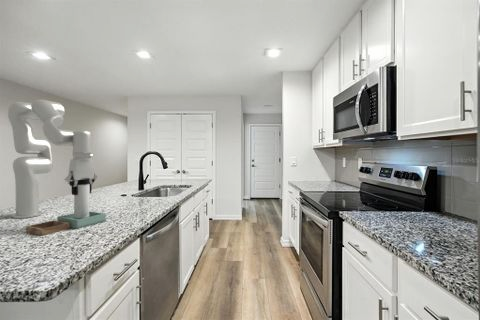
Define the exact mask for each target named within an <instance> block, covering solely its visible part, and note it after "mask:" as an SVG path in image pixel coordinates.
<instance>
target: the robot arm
mask: <svg viewBox="0 0 480 320" xmlns="http://www.w3.org/2000/svg"><path fill="white" fill-rule="evenodd" d="M65 111H66V109H65V107H64V105H63V104H61V103H60V102H58V101H53V100H52V101H51V100H47V99H35V100H34V101H31V102H25V101H14V102H12V103H11V104H10V105H9V106H8V110H7V117H8V121H9V122H10V123H9V124H10V125H11V128H12V129H11V130H12V136H13V144H14V149H15V152H16V153H17V154H20V155H33V156H20V157H17V158H15V159H14V160H13V162H12V169H13V173H14V180H15V183H14V184H15V208H14V211H15V213H13V214H12V215H11V218H13V219H26V218H27V219H28V218H34V217H38V216H41V215H43V212H42V211H40V207H39V205H40V203H39V201H40V200H39V199H40V198H39V197H40V196H39V194H40V193H39V190H40V189H39V187H40V186H39V181H38V178H37V177H36V175H40V174H47V173H48V174H49V173H50V172H52V170H53V167H54V161H53V154H52V146H51V144H53V145H56V146H67V147H72V159H70V161H69V165H68V175H67V176H66V177H65V178H64V181H65V182H66V183H68V185H69V187H71V194H72V196H74V195H78V187H77V183H78V181H79V180H84V179H88V178H90V182H89V184H90V185H89V186H90V194H92V190H93V189H92V186H93V184H94V183H95V181H96V180H97V179H98V176H97V175H96V173H95V172H94V171H95V170H94V163H93V159H92V158H93V157H94V155H93V154H92V133H91V132H90V131H89V130H70V129H69V130H68V129H59V127H61V126H62V125H63V123H64V116H65V114H66V112H65ZM27 120H31V121H32V120H33V121H41V122H42V123H43V126H42V131H43V132H42V133H43V135H44V136H45V137H40V136H35V135H34V134H35V133H34V128H33V126H32V125H31V124H30V122H29V121H27ZM49 141H50V142H49ZM34 155H37V156H34Z"/></svg>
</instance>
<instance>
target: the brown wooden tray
mask: <svg viewBox="0 0 480 320" xmlns="http://www.w3.org/2000/svg"><path fill="white" fill-rule="evenodd" d="M66 229H67V230H70V223H66V222H60V221H57V220H56V219H55V220H54V219H53V220H49V221H44V222H40V223H36V224H31V225H26V226H25V230H26V231H25V233H28V234H33V235H37V236H47V235H49V234H50V235H51V234H54V233H59V232H64V231H66Z"/></svg>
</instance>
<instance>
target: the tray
mask: <svg viewBox="0 0 480 320" xmlns="http://www.w3.org/2000/svg"><path fill="white" fill-rule="evenodd" d="M56 221H60V222H66V223H70V228H71V229H74V228H76V229H75V230H79V228H80V229H83V228H87V227H91V226H94V224H95V225H97V224H98V223H99V224H103V223H106V222H107V213H104V212H97V211H91V210H89V217H87V218H83V219H74V212H72V213H69V214H65V215H59V216H57V217H56ZM90 225H91V226H90ZM82 227H83V228H82Z"/></svg>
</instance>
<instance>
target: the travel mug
mask: <svg viewBox="0 0 480 320" xmlns="http://www.w3.org/2000/svg"><path fill="white" fill-rule="evenodd" d="M89 182H90V178H88V179H84V180H79V181H78V183H77V187H78V195H73V196H74V199H73V200H74V202H73V204H74V205H73V209H74V211H73V213H74V219H83V218H87V217H89V211H90V194H91V193H90V186H89V185H90V184H89Z"/></svg>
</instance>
